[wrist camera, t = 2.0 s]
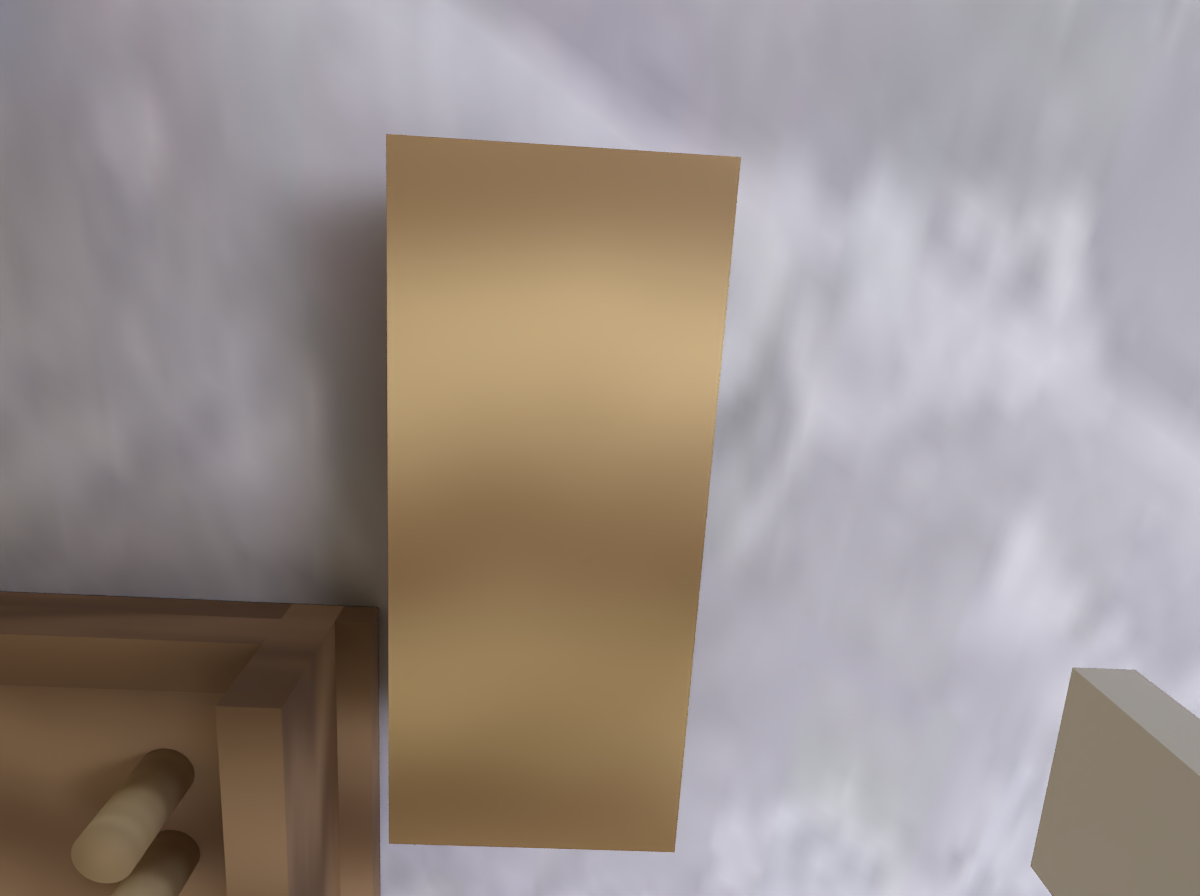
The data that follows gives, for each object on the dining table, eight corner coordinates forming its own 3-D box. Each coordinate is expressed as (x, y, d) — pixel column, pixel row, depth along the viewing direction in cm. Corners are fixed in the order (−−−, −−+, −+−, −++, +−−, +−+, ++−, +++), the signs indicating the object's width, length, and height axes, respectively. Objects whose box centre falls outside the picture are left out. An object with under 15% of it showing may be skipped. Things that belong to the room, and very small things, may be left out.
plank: (427, 154, 18) (385, 134, 14) (705, 172, 18) (741, 157, 14) (422, 733, 22) (389, 843, 18) (656, 741, 22) (674, 852, 18)
